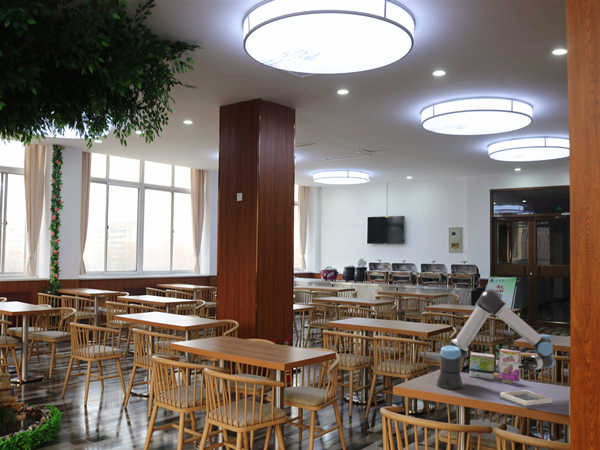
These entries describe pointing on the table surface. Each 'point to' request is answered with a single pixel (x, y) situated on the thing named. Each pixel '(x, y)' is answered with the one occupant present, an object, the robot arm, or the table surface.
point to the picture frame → (526, 399)
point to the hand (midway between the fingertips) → (504, 364)
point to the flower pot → (507, 381)
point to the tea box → (482, 365)
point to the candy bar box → (509, 364)
